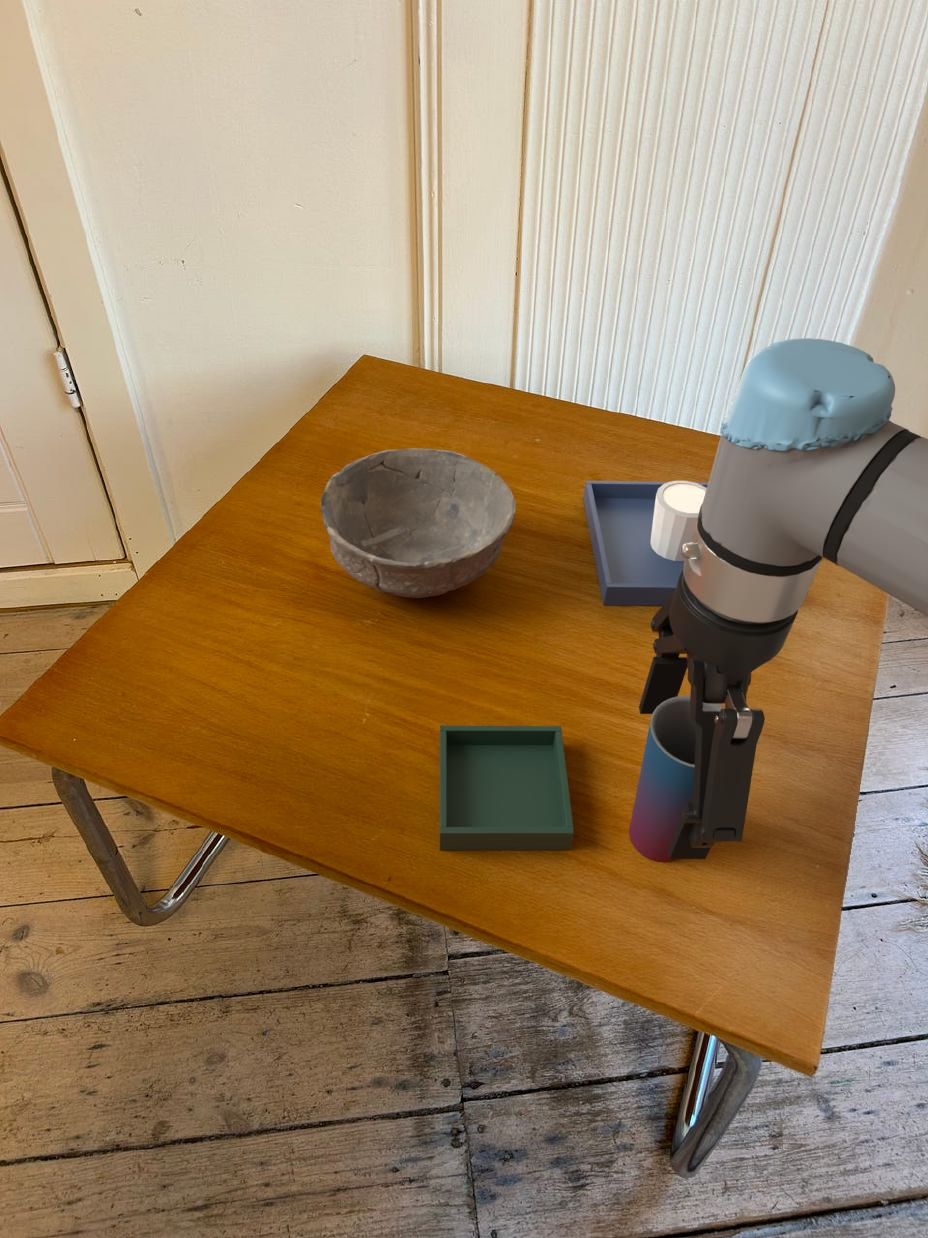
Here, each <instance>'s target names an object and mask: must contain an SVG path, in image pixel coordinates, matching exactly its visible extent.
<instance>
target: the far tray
mask: <svg viewBox="0 0 928 1238" xmlns="http://www.w3.org/2000/svg"><path fill="white" fill-rule="evenodd" d="M668 482H669V481H634V480H633V481H630V480H629V481H628V480H626V481H625V480H586V481H585V485H584V492H583V497H582V500H583V504H584V505H583V506H584V510H585V511H584V512H585V515H586V521H587V526H588V531H589V537H590V542H591V547H592V553H593V557H594V563H595V568H596V569H595V570H596V573H597V579H598V584H599V591H600V595H601V601H602V605H603V606H644V607H645V606H646V607H647V606H648V607H649V606H650V607H651V606H652V607H653V606H656V607H659V606H661V607H662V606H663V605H664V603H665V602H666V601H667V600H668V599H669V597H670V596H671V595H672V594H673V592H674V591H675V590H676V586H677V583H678V580H679V577H680V574H681V572H682V570H683V569H684V562H685V561H673V560H669V559H665V558H663V557H662V556H660V555H658V554H657V553H656V552H655V551H654V550H653V549H652V546H651V543H650V541H651V533H652V524H653V516H654V508H655V500H656V494H657V491H658V488H660V487H661V486H662V485H663V484H665V483H668ZM693 482H694V483H698V484H700V485H702V486H704V487H706V488H707V485H708V482H709V481H708V482H706V481H705V482H704V481H703V482H701V481H699V482H698V481H693Z"/></svg>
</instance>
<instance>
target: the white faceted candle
mask: <svg viewBox="0 0 928 1238" xmlns="http://www.w3.org/2000/svg"><path fill="white" fill-rule="evenodd" d="M667 482H668V483H665V484H663V485H662V486H661V487H660V488H658V491H657V494H656V500H655V508H654V516H653V524H652V533H651V541H650V543H651V546H652V549H653V550H654V551H655V552H656V553H657V554H658V555H660V556H662V557H663V558H665V559H669V560H673V561H685V558H684V557H683V556H682V555H681V551H682V546H683V545H684V544H685V543H690V542H691V539H692V536H693V532H694V529H695V525H696V522H697V518H698V515H699V511H700V507H701V505H702V503H703V500H704V496H705V493H706V489H707V488H706V487H704V486H702V485H700V484H698V483H694V482H695V481H689V480H672V481H667Z"/></svg>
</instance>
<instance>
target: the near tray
mask: <svg viewBox="0 0 928 1238" xmlns="http://www.w3.org/2000/svg"><path fill="white" fill-rule="evenodd" d="M562 730H563V729H562V726H561V725H439V830H438V831H439V834H438V835H439V836H438V837H439V839H438V840H439V847H438V848H439V851H571V848H572V845H573V840H574V836H575V827H574V820H573V811H572V804H571V802H572V801H571V796H570V787H569V779H568V771H567V761H566V754H565V747H564V736H563V731H562Z"/></svg>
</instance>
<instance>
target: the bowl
mask: <svg viewBox="0 0 928 1238" xmlns="http://www.w3.org/2000/svg"><path fill="white" fill-rule="evenodd" d="M516 508H517V503H516V499H515V496H514V494H513V491H512V489H511V487H510V486H509V485H508V483H507V482H505V480H504V479H502V478H501V476H500V475H499V474H497V472H496V471H494V470H493V469H491V468H489V467H488V466H486V465H485V464H483V463H481V462H479V461H477V460H476V459H473V458H470V457H468V456H466V455H464V454H462V453H460V452H457V451H454V450H453V451H451V450H446V449H434V448H419V447H417V448H416V447H413V448H399V449H384V450H381V451H378V452H375V453H371V454H369V455H367V456H364V457H360V458H358V459H356V460H354V461H352V462H350V463H348V464H346V465H345V466H343V468H342V469H341V470H340V471H338V472H336V473H334V474H333V475H332V476H331V477H330V478H329V480H328V482H327V483H326V484H325V488H324V491H323V493H322V495H321V498H320V513H321V516H322V518H323V519H322V520H323V525H324V527H325V529H326V532H327V533H328V537H329V547H330V551H331V553H332V555H333V558H334V559H335V561H336V562H337V564H338V565H339V566H340V567H341V568H342V569H343V570H344V571H345V572H346V573H347V574H348V575H349V576H350V577H352V579H354V580H355V581H357V582H358V583H360V584H362V585H364V586H366V587H368V588H370V589H372V590H376V591H378V592H380V593H383V594H388V595H392V596H397V597H400V598H401V597H402V598H413V599H424V598H429V597H436V596H440V595H444V594H447V592H449V591H451V592H453V591H455V590H457V589H460V588H463V587H464V586H466V585H469V584H470V583H472V582H474V581H476V580H477V579H479V578H480V577H481V576H483V575H485V573H486V572H488V570H490V569H491V567H493V565H494V564H495V563H496V562H497V560H498V559H499V557H500V554H501V552H502V549H503V547H504V540H505V537H506V536H507V535H508V533H509V531H510V530H511V528H512V526H513V523H514V520H515V517H516Z"/></svg>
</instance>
